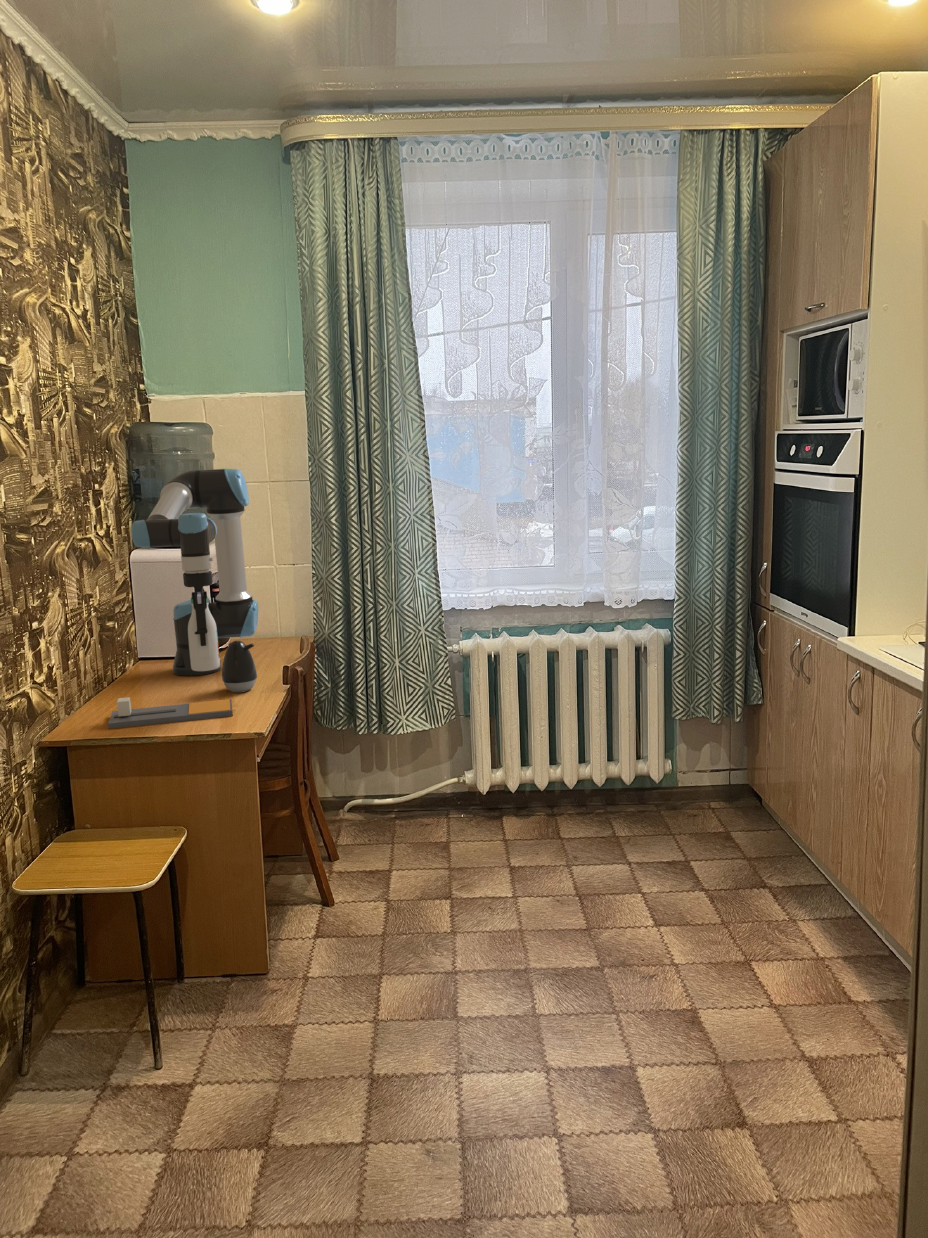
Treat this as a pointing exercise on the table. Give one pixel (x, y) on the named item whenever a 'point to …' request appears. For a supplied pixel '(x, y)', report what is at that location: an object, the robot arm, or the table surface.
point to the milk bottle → (214, 659)
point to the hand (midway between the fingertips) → (204, 653)
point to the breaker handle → (124, 706)
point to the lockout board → (172, 713)
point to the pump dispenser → (239, 667)
